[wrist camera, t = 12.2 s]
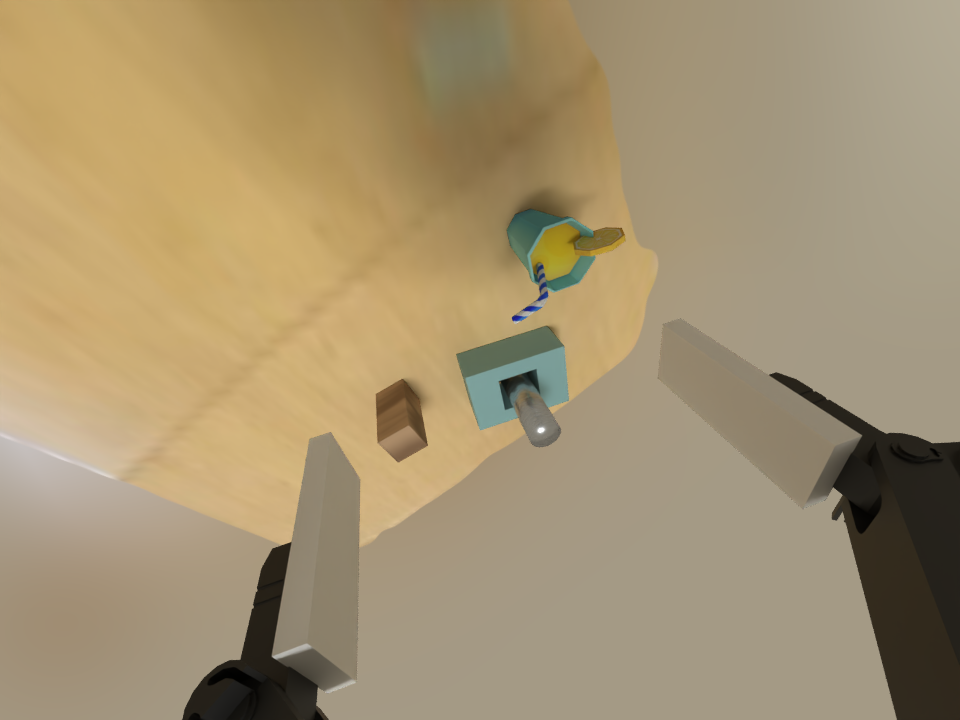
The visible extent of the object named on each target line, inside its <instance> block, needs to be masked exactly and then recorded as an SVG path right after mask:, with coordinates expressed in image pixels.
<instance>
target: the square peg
mask: <svg viewBox="0 0 960 720" xmlns="http://www.w3.org/2000/svg"><path fill="white" fill-rule="evenodd" d="M376 410H377V439H378V444H379V445H380V446H381V447H382V448H383V449H385V450H386V451H387V452H388V453H389V454H390V455H391V456H392V457H393V458H394V459H395V460H396V461H397V462H400V461H402V460H403V459H405V458H407V457H409V456H410V455H412V454H414V453H416V452H418V451H419V450H421V449H423V448H425V447H426V446H428V444H427V438H426V433H425V428H424V422H423V417H422V412H421V406H420V401H419V398H418V397H417V396H416V394H415V393H414V392H413V391H412V390H411V388H410V387H409V386H408V385H407V384H406V383H405V381H404V380H403V379H401V380H400V381H398V382H396V383H394V384H393V385H391V386H389V387H388V388H386V389H384V390H382V391H381V392H379V393H377V394H376Z"/></svg>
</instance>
